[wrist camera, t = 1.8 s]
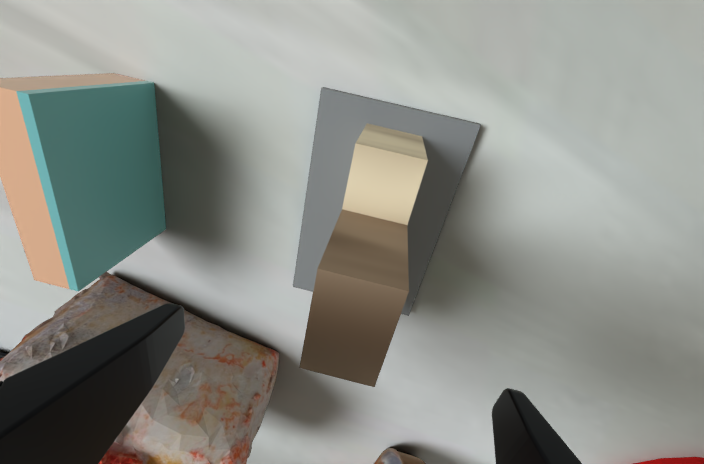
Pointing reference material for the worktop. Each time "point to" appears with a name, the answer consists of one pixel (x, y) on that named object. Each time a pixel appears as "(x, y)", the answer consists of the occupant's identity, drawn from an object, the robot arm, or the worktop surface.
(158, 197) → the tile
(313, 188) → the pad
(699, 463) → the kitchen timer
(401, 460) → the tin
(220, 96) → the worktop surface
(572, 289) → the worktop surface
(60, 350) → the food item
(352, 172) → the cream brown stepped block
